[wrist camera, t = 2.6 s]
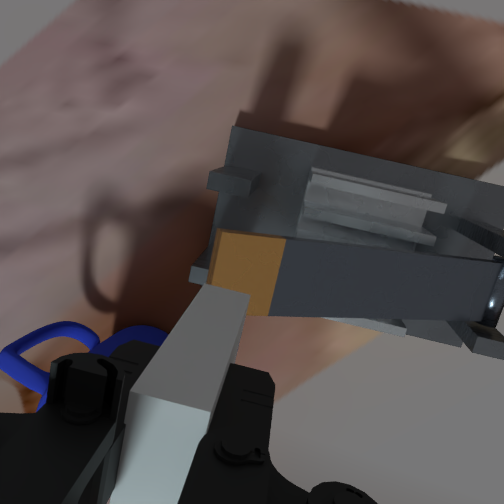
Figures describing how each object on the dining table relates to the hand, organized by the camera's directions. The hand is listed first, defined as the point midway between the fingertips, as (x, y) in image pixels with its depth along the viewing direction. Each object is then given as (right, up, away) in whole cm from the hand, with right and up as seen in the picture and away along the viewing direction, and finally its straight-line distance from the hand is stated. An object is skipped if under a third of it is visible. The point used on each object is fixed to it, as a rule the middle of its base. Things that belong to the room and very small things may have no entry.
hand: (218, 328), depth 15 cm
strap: (+7, +1, +9) cm, 12 cm away
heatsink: (+8, +4, +20) cm, 22 cm away
